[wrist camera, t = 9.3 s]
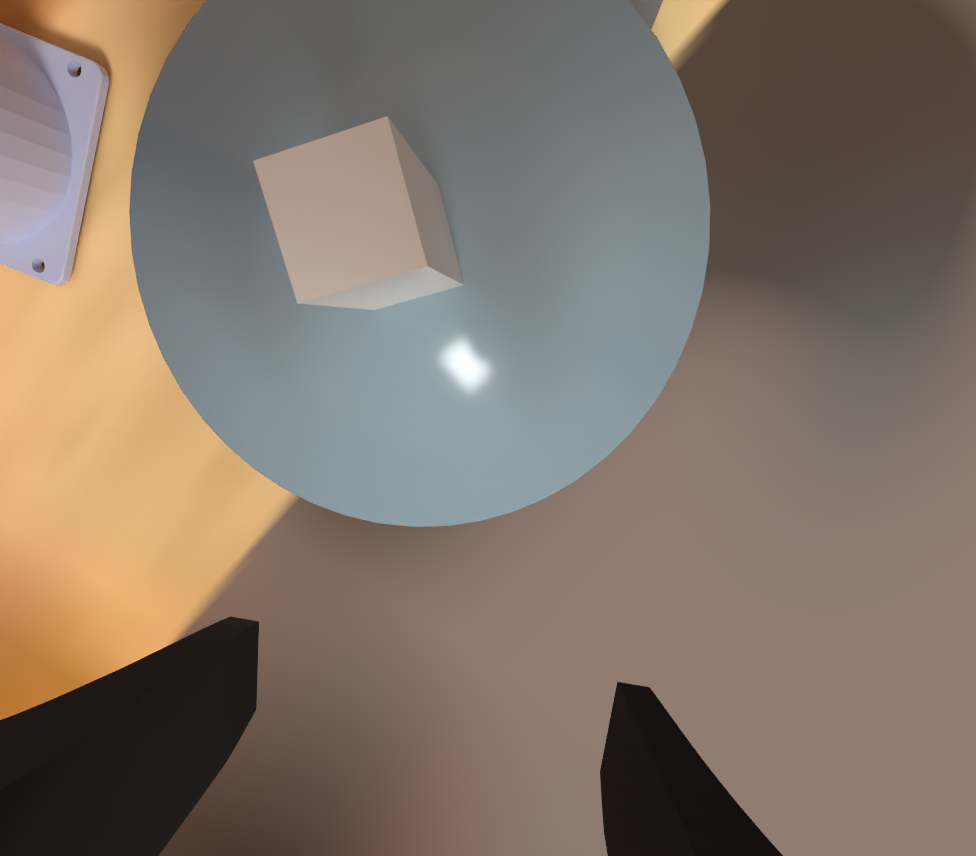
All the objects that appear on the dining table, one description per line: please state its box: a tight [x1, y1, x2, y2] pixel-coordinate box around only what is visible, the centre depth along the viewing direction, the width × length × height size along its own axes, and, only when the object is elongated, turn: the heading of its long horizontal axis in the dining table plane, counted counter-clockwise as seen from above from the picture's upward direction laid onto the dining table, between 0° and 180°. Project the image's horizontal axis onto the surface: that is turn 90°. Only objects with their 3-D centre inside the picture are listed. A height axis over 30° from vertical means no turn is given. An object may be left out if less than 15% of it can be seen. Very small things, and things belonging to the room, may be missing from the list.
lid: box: [130, 0, 710, 527], centre depth 13 cm, size 17×17×6 cm
